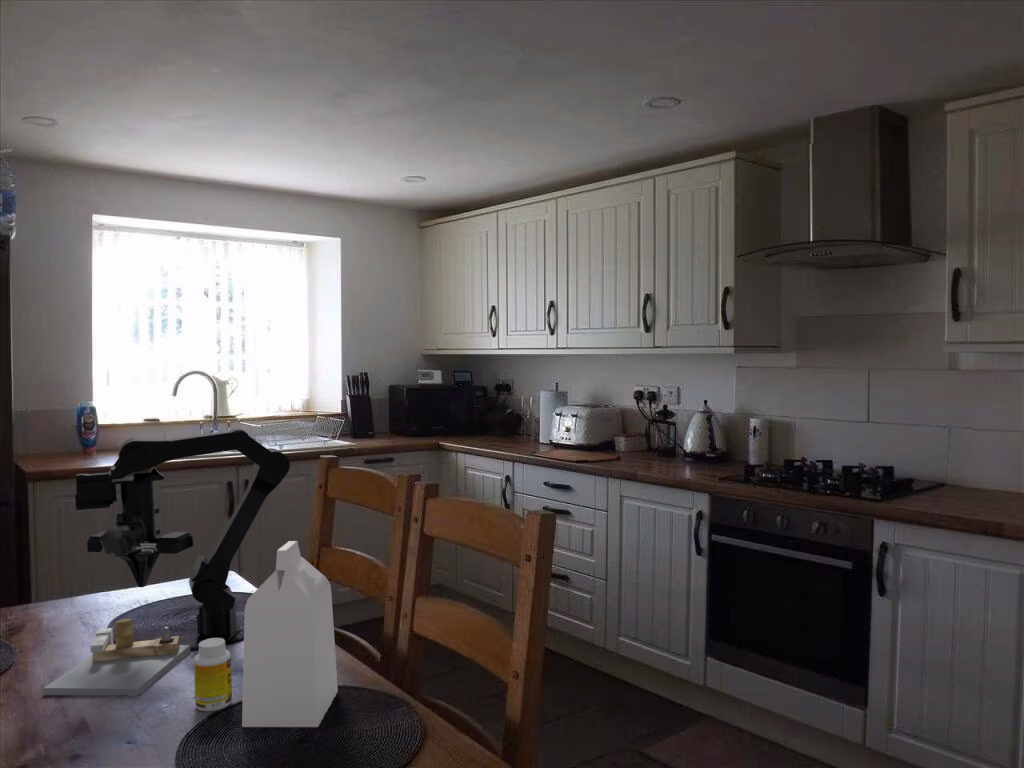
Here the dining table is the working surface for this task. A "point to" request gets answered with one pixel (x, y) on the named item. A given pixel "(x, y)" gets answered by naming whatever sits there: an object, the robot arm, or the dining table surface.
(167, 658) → the board
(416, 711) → the dining table surface
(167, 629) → the peg
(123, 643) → the latch bar
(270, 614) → the milk
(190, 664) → the dining table surface
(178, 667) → the dining table surface
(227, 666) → the supplement bottle
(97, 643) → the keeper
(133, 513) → the robot arm
